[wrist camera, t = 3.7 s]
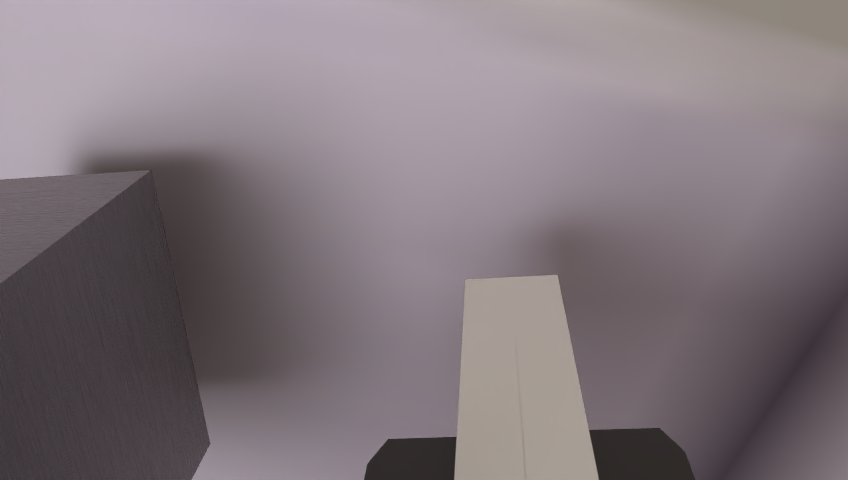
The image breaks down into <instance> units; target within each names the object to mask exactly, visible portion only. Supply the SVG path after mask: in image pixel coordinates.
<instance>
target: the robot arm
mask: <svg viewBox="0 0 848 480" xmlns="http://www.w3.org/2000/svg"><path fill="white" fill-rule="evenodd" d="M364 480H695V478H694V475H693V472H692V470H691V467H690V464H689V462H688V459H687V456H686V454H685V452H684V451H683V450H682V449H681V448H680V447H679V446H678V445H677V444H676V443H675V442H674V441H672V440H671V439H670V438H669V437H668V436H667V435H666V434H665V433H664V432H663V431H662V430H661V429H660V428H646V429H613V430H589V428H588V423H587V418H586V413H585V408H584V403H583V398H582V393H581V388H580V383H579V379H578V374H577V369H576V364H575V359H574V354H573V349H572V344H571V339H570V334H569V329H568V324H567V319H566V314H565V309H564V304H563V299H562V294H561V289H560V284H559V280H558V275H542V276H521V277H501V278H481V279H465V295H464V313H463V331H462V349H461V367H460V385H459V403H458V421H457V437H441V438H408V439H388V440H387V441H386V442H385V444H384V445H383V446H382V447H381V448H380V450H379V451H378V452H377V453H376V454H375V456H374V457H373V458H372V459H371V460H370V462H369V463H368V464H367V469H366V474H365V478H364Z"/></svg>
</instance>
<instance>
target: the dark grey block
mask: <svg viewBox="0 0 848 480" xmlns="http://www.w3.org/2000/svg"><path fill="white" fill-rule="evenodd" d="M209 445H210V441H209V436H208V431H207V427H206V422H205V417H204V413H203V408H202V404H201V399H200V394H199V390H198V385H197V380H196V376H195V371H194V366H193V362H192V357H191V352H190V348H189V343H188V339H187V334H186V329H185V325H184V320H183V315H182V311H181V306H180V301H179V297H178V292H177V287H176V283H175V278H174V274H173V269H172V264H171V260H170V255H169V250H168V246H167V241H166V236H165V232H164V227H163V223H162V218H161V213H160V209H159V204H158V199H157V195H156V190H155V185H154V181H153V176H152V171H151V170H142V171H127V172H112V173H96V174H81V175H66V176H50V177H35V178H20V179H4V180H0V480H191V479H192V478H193V476H194V474H195V472H196V470H197V468H198V466H199V464H200V462H201V460H202V458H203V457H204V455H205V453H206V451H207V449H208V447H209Z"/></svg>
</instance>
